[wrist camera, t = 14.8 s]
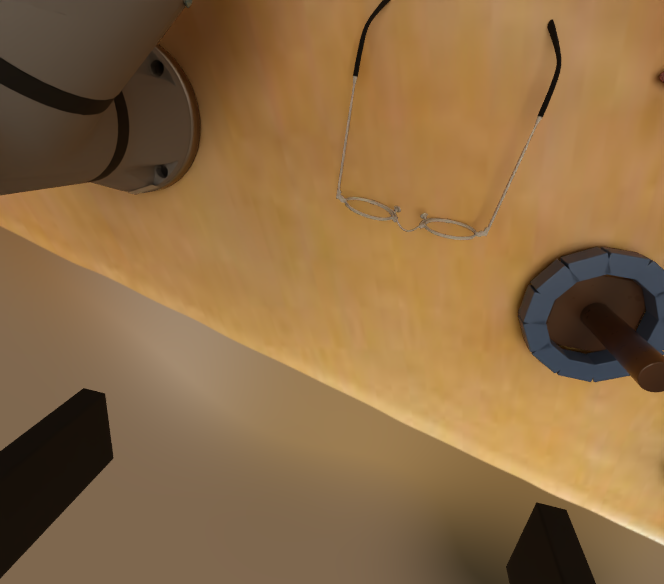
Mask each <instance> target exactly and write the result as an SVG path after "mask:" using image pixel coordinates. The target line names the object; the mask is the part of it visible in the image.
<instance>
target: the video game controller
mask: <svg viewBox="0 0 664 584" xmlns="http://www.w3.org/2000/svg"><path fill="white" fill-rule="evenodd" d="M659 78H660V80H661V81H662V82H664V72H662V73H661V74H660V77H659Z"/></svg>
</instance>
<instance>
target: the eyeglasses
mask: <svg viewBox="0 0 664 584" xmlns="http://www.w3.org/2000/svg"><path fill="white" fill-rule="evenodd" d="M389 1H390V0H383V1H382V2H381V3H380V4H379V6H378V7H377V8H376V9H375V11H374V12H373V14H372V15H371V16H370V18H369V19H368V21H367V23H366V24H365V27H364V29H363V32H362V35H361V39H360V43H359V47H358V52H357V57H356V62H355V68H354V73H353V90H352V97H351V104H350V109H349V116H348V122H347V129H346V136H345V143H344V149H343V156H342V163H341V169H340V176H339V183H338V190H337V196H336V198H337V199H339V200H340V201H341V202H344V203H345V205H346V206H347V207H348V208H349V209H350V210H352V211H353V212H355V213H357V214H359V215H362V216H364V217H367V218H370V219H375V220H381V221H387V220H391V219H392V221H394V222H397V223H398V225H399V227H400V228H401V229H402V230H404V231H406V232H411V231H414V230H416V229H417V228H420V229H422V228H425V229H426V230H428V231H429V232H431V233H433V234H435V235H438V236H441V237H445V238H449V239H456V240H469V239H473V238H474V237H475V236H478V237H481V236H487V234H488V231H489V229H490V227H491V225H492V223H493V221H494V218H495V216H496V214H497V212H498V210H499V207H500V205H501V203H502V201H503V199H504V197H505V194H506V192H507V190H508V188H509V186H510V184H511V181H512V179H513V177H514V175H515V173H516V171H517V168H518V166H519V164H520V162H521V160H522V158H523V155H524V153H525V151H526V149H527V147H528V144H529V142H530V139H531V137H532V135H533V133H534V131H535V129H536V126H537V124H538V123H539V122H540V120H541V119H542V117H543V115H544V113H545V111H546V109H547V106H548V104H549V101H550V99H551V96H552V94H553V91H554V89H555V86H556V83H557V80H558V77H559V73H560V69H561V53H560V46H559V41H558V37H557V32H556V28H555V24H554V21H553V19H552V20H550V22H549V24H548V31H549V33H550V36H551V39H552V42H553V45H554V49H555V53H556V58H557V66H556V70H555V74H554V77H553V80H552V82H551V85H550V88H549V90H548V93H547V95H546V97H545V100H544V102H543V104H542V107H541V109H540V111H539V114H538V117H537V120H536V123H535V126H534V128H533V131H532V133H531V135H530V137H529V139H528V141H527V144H526V145H525V147H524V149H523V151H522V154H521V156H520V158H519V160H518V162H517V164H516V167H515V169H514V171H513V173H512V175H511V177H510V180H509V182H508V184H507V186H506V188H505V190H504V192H503V195H502V197H501V199H500V201H499V203H498V205H497V208H496V210H495V212H494V214H493V216H492V218H491V221H490V223H489V225H488V227H486V228H485V229H484V231H479V232H476V230H475V229H474V228H472V227H470V226H468V225H466V224H464V223H461V222H457V221H453V220H450V219H441V218H429V219H426V218H427V215H428V214H427V213H423V214H422V215H421V216H420V217H421V218H422V219H424V220H423V221H421V223H420V224H419V226H418V227H416V228H414V229H412V230H405V229H403V228H402V227H401V225H400V224H399V222H398V217H397V215H396V213H395V212H401V209H400V207H399V206H394V207H395V209H394V211H395V212H394V211H393V210H392V209H390V208H389V207H387V206H385V205H383V204H381V203H378V202H376V201H374V200H369V199H365V198H360V197H349V198H347V199H346V198H344V197H343V196H342V195H341V190H340V184H341V178H342V171H343V164H344V158H345V151H346V144H347V137H348V131H349V124H350V117H351V110H352V102H353V95H354V89H355V84H356V80H357V77H358V72H359V66H360V60H361V55H362V50H363V45H364V41H365V36H366V33H367V30H368V27H369V25H370V23H371V21H372V20H373V19H374V17H375V16H376V15H377V14H378V13H379V11H380V10H381V9H382V8H383V7H384V6H385V5H386V4H387V3H388V2H389ZM348 200H361V201H366V202H369V203H371V204H375V205H378V206H380V207H382V208H384V209H385V210H387V211H388V212H389V213H390V214H391V217H387V218H382V217H375V216H371V215H368V214H365V213H362V212H360V211H358V210H356V209H354V208H352V207H351V206H350V205H349V204H348V203H347V201H348ZM393 215H394V217H393ZM429 222H446V223H453V224H457V225H461V226H463V227H466V228H468V229H470V230H471V231H472V232H473V233H474V235H472V236H468V237H457V236H450V235H446V234H442V233H439V232H436V231H434V230H432V229H430V228H429V227H427V225H426V224H427V223H429ZM424 223H425V224H424Z"/></svg>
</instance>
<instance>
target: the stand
mask: <svg viewBox="0 0 664 584" xmlns="http://www.w3.org/2000/svg"><path fill="white" fill-rule="evenodd" d="M645 309H646V307H645V301H644V295H643V289H642V288H641V287H640V286H639V285H638V284H637V283H636V282H635V281H633V280H632V279H629V278H624V277H618V276H613V275H608V274H606V275H602V276H598V277H595V278H591V279H587V280H583V281H579V282H577V283H575V284H574V285H573V286H572V287H571V288H569V289H568V290H567V291H566V292H564V293H563V294H562V295H561V296H559V297H558V298H557V299H556V300H555V301H554V304H553V306H552V309H551V311H550V314H549V316H548V319H547V321H546V325H547V329H548V333H549V337H550V339H551V340H552V341H553V342H555V343H556V344H557V345H562V346H567V347H572V348H577V349H582V350H587V351H592V352H597V351H602V350H606V349H607V350H608V351H609V352H610V353H611V354H612V355H613V356H614V358H615V359H616V360H617V361H618V362H619V363H620V364H621V365H622V367H623V368H624V369H625V370H626V371H627V372H628V373H629V374H630V375H631V377H632V378H633V379H634V380H635V381H636V382H637V383H638V384H639V385H640V387H641V388H643V389H644V390H647V391H650V392H662V391H664V356H663V355H662V354H661V353H660V352H658V351H657V350H656V349H655V348H654V347H653V346H652V345H651V344H649V343H648V342H647V341H646V340H645V339H644V338H643V337H642V336H640V335H639V334H638V333H637V332H636V331H635V329H636V327H637V325H638V323H639V321H640V319H641V317H642V315H643V313H644V311H645Z"/></svg>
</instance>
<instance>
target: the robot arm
mask: <svg viewBox="0 0 664 584" xmlns="http://www.w3.org/2000/svg"><path fill="white" fill-rule="evenodd" d="M191 4H192V0H0V195H5V194H12V193H19V192H26V191H33V190H39V189H46V188H53V187H60V186H67V185H74V184H80V183H87V182H92V183H95V184H99V185H103V186H106V187H110V188H114V189H117V190H121V191H126V192H128V193H131V194H135V195H136V194H139V193H145V192H151V191H156V190H160V189H163V188H166V187H168V186H170V185H172V184H174V183H175V182H177V181H178V180H179V179H180V178H181V177H182V176H183V175H184V174H185V173H186V172H187V170H188V169H189V168H190V166H191V164H192V162H193V160H194V158H195V156H196V152H197V149H198V145H199V139H200V116H199V109H198V105H197V101H196V97H195V94H194V92H193V89H192V86H191V84H190V82H189V80H188V78H187V77H186V75H185V73H184V71H183V70H182V69H181V67H180V66H179V64H178V63H177V62H176V61H175V60H174V58H173V57H172V56H171V55H170V54H169V53H168V52H167V51H165V50H164V49H163V48H162V47H161V46H159V45H158V44H157V43H158V42H159V41H160V39H161V38H162V37H163V35H164V34H165V33H166V31H167V30H168V29H169V27H170V26H171V25H172V23H173V22H174V21H175V19H176V18H177V17H178V15H179V14H180V13H181V12H182V10H183V9H184V8H185V6H186V7H187V8H189V7H190V6H191ZM112 459H113V451H112V443H111V437H110V428H109V421H108V413H107V405H106V398H105V394H104V393H100V392H97V391H93V390H89V389H84V388H83V389H82V390H81V391H79V392H78V393H77V394H75V395H74V396H73V397H71V398H70V399H69V400H68V401H66V402H65V403H64V404H62V405H61V406H59V407H58V408H57V409H56V410H54V411H53V412H52V413H50V414H49V415H48V416H46V417H45V418H44V419H42V420H41V421H40V422H39V423H37V424H36V425H34V426H33V427H32V428H31V429H29V430H28V431H27V432H25V433H24V434H23V435H21V436H20V437H19V438H17V439H16V440H15V441H14V442H12V443H11V444H9V445H8V446H7V447H5V448H4V449H3V450H2V451H0V578H1V577H2V576H3V575H4V574H5V573H6V572H7V571H8V570H9V569H10V568H11V567H12V565H13V564H14V563H15V562H16V561H17V560H18V559H19V558H20V557H21V556H22V555H23V554H24V553H25V552H26V551H27V549H28V548H29V547H30V546H31V545H32V544H33V543H34V542H35V541H36V540H37V539H38V538H39V536H41V535H42V534H43V533H44V531H45V530H46V529H47V528H48V527H49V526H50V525H51V524H52V523H53V522H54V521H55V520H56V519H57V518H58V517H59V516H60V514H61V513H62V512H63V511H64V510H65V509H66V508H67V507H68V506H69V505H70V504H71V503H72V502H73V501H74V500H75V499H76V497H77V496H78V495H79V494H80V493H81V492H82V491H83V490H84V489H85V488H86V487H87V486H88V484H90V482H91V481H92V480H93V479H94V478H95V477H96V476H97V475H98V474H99V473H100V472H101V471H102V470H103V469H104V468H105V467H106V466H107V465H108V463H109V462H110V461H111V460H112ZM506 568H507V573H508V578H509V583H510V584H596V583H595V580H594V578H593V575H592V573H591V570H590V568H589V565H588V563H587V560H586V558H585V555H584V553H583V550H582V548H581V545H580V543H579V540H578V538H577V535H576V533H575V530H574V528H573V525H572V523H571V520H570V518H569V515H568V513H567V511H566V510H565V509H561V508H557V507H552V506H549V505H545V504H540V503H536V505H535V507H534V509H533V511H532V513H531V515H530V517H529V520H528V522H527V524H526V526H525V528H524V530H523V532H522V534H521V536H520V539H519V541H518V543H517V545H516V547H515V549H514V551H513V553H512V555H511V558H510V560H509V562H508V564H507V566H506Z"/></svg>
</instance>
